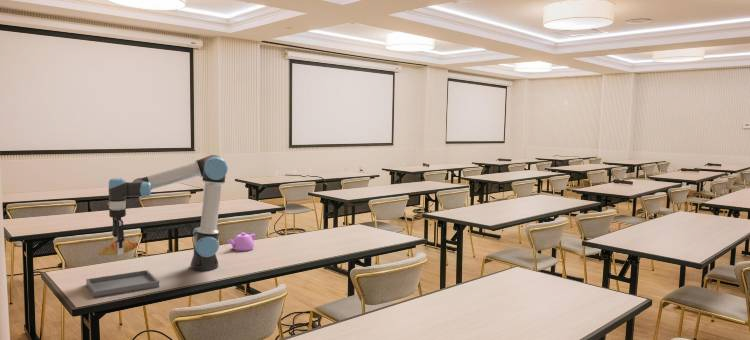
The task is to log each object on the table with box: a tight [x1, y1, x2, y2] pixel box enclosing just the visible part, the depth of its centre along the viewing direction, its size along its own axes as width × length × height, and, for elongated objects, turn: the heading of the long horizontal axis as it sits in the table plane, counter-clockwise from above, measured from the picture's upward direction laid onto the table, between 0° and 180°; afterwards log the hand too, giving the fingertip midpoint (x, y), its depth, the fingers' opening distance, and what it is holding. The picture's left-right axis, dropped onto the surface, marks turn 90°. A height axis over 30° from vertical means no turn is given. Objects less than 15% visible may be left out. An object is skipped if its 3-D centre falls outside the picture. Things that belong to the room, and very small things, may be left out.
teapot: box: [227, 232, 256, 252], centre depth 337 cm, size 14×20×11 cm
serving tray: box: [85, 269, 160, 299], centre depth 261 cm, size 29×22×3 cm
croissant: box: [97, 239, 139, 256], centre depth 266 cm, size 21×10×8 cm, turn 149°
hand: (118, 251), depth 266 cm, fingers closed on croissant, 10 cm apart
